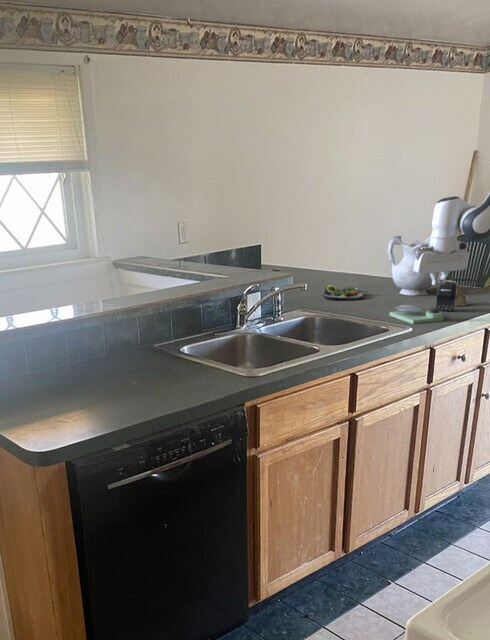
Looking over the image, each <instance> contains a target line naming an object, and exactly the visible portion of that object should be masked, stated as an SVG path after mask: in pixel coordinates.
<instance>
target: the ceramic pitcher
mask: <svg viewBox="0 0 490 640" xmlns="http://www.w3.org/2000/svg"><path fill="white" fill-rule="evenodd" d="M395 245H398V246H399V247H400V248H402V251H403V252H402V254H403V256H402V258H401V260H400V261H399V262H396V260H395V255H394V253H393V251H394V247H395ZM429 245H430V236H429V237H427V238H426V239H424V240H423V241H419V240H418V239H417V240H416V239H415V240H413V241H412V242H411V243H409V244H407V243H405V242H404V243H403V240H402V236H401V235H394V236H393V237H392V238H391V240H390V241H389V243H388V245H387V256H388V259H389V262H390V264H391V277H392V281H393V283H394V284H395V286H396V287H397V288H400V289H401V290H400V291H398V294H399V295H404V296H428V295H430V293H429V292H427V290H428V289H431V288H432V287H433V286H434V285H432V279H431V276H430V273H427V274H416V273H414V271H413V267H414V262H415V258H416V252H417V251H418V250H419V249H420V248H421V247H429ZM439 275H440V272H437V276H436V279H437V280H438V279H439V277H440V276H439Z"/></svg>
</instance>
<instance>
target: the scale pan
mask: <svg viewBox="0 0 490 640" xmlns="http://www.w3.org/2000/svg"><path fill="white" fill-rule="evenodd" d="M395 310H396V311H402V312H420V311H423V310H424V307H423V306H421V305H416V304H400V305H397V306H395ZM424 311H425V310H424Z"/></svg>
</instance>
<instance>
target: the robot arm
mask: <svg viewBox="0 0 490 640" xmlns="http://www.w3.org/2000/svg"><path fill="white" fill-rule="evenodd" d="M431 227H432V230H431V233H430V236H429V237H430V245H429V247H421V248H420V249H419V250H418V251H417V252H416V258H415V262H414V267H413V271H414V273H416V274H427V273H430V276H431V279H432V285H433V286H438V284H444V283H445V281H446V279H447V278H448V276H449V273H450V272H456V271H465V270H466V268H467V267H468V262H469V252H468V249H469V247H470V244H469V243H467V242H464V241H461V240H458V235H460V234H463V235H465V236H466V237H467V239H470V240H472V241H473V240H474V241H481V240H484V239H486V238H487V237H490V192H489V193H488V195H486V197H485V199H484V201H483V202H482V203H481V204H480V205H478V206H477V205H475V204H472V203H469V202H467V201H465V200H463V199H462V198H461V197H460V196H456V195H454V196H448V197H443V198H440V199H439V200H438V201H437V202H436V203H435V205H434V209H433V214H432V220H431ZM437 272H439V273H441V276H440V278H438V279H436V276H437Z"/></svg>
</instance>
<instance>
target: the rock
mask: <svg viewBox="0 0 490 640" xmlns="http://www.w3.org/2000/svg"><path fill="white" fill-rule="evenodd" d="M446 281H452V282H455V281H454V280H451V279H447V280H446ZM467 304H468V303H467V298H466V295H465V293H464V292H463V290H462V288H461V287H460V285H459V284H458V283H457V294H456V300H455V306H454V307H460V306H461V307H464V306H468V305H467Z"/></svg>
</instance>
